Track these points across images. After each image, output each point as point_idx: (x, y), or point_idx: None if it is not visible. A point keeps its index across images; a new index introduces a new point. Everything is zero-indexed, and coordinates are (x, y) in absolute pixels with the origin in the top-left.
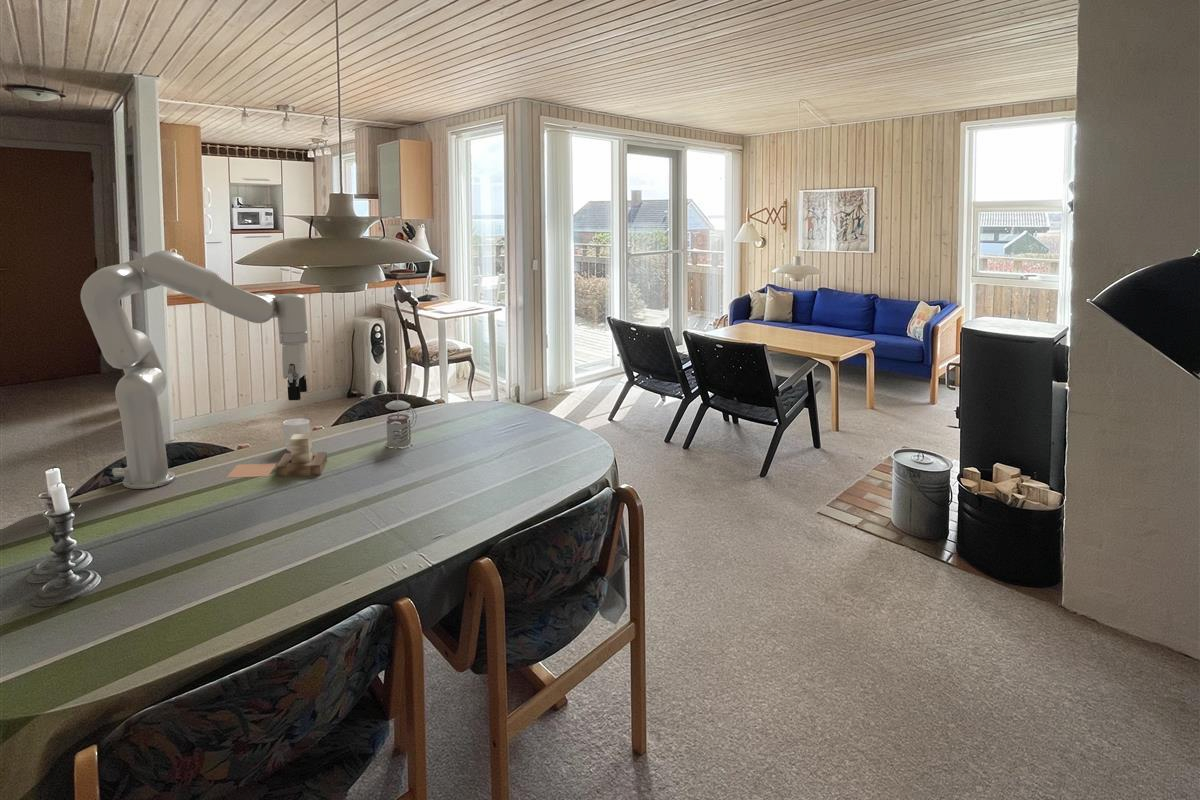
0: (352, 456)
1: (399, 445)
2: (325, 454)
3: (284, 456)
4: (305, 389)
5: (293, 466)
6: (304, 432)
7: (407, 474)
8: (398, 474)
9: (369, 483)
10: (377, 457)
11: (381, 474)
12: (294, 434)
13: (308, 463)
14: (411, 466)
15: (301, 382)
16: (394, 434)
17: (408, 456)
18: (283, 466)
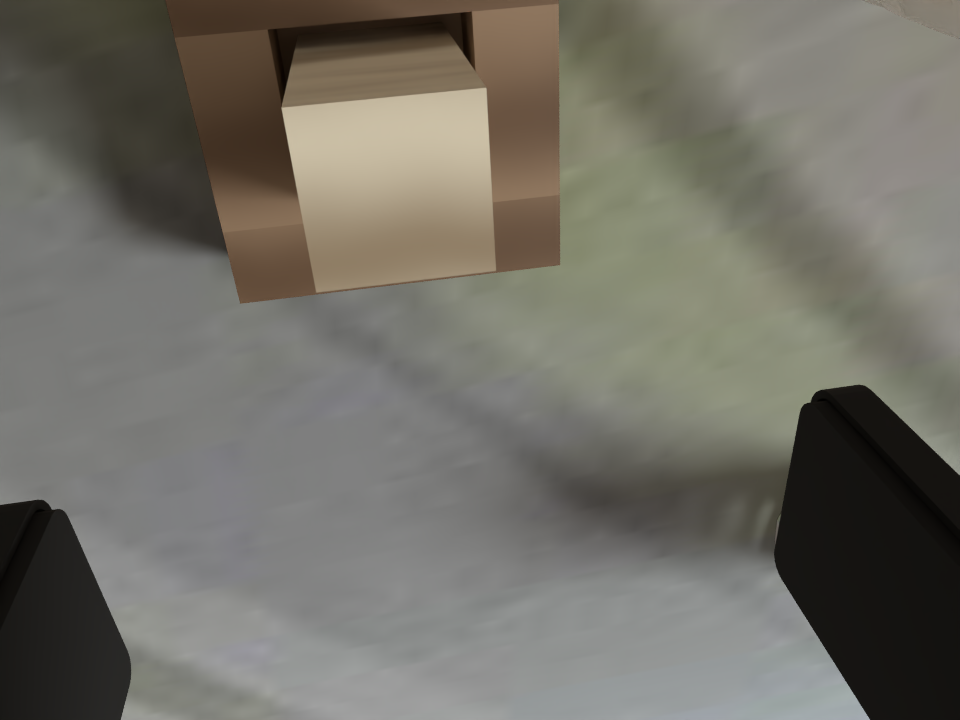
0: (688, 336)
1: None
2: (502, 271)
3: None
4: (796, 593)
5: (191, 99)
6: (944, 20)
7: (352, 646)
8: (350, 614)
9: (191, 531)
10: (644, 468)
11: (346, 549)
12: (478, 103)
13: (270, 207)
14: (475, 635)
15: (911, 683)
16: None
17: (637, 593)
18: (168, 8)
